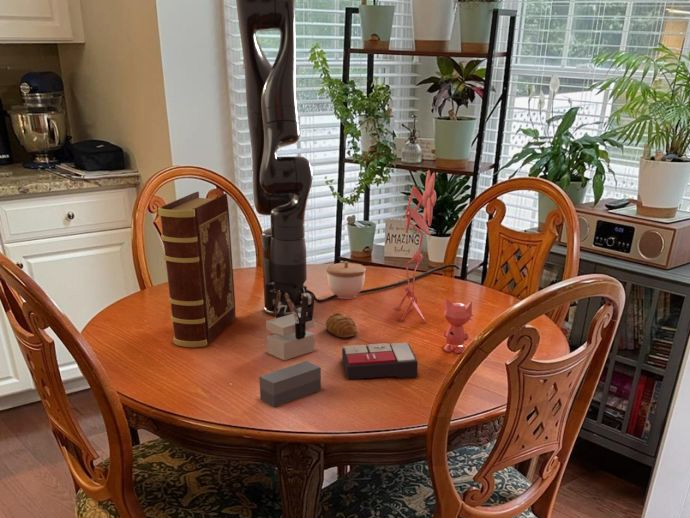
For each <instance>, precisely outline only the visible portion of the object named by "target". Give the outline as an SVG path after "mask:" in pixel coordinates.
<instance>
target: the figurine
mask: <svg viewBox="0 0 690 518" xmlns="http://www.w3.org/2000/svg"><path fill="white" fill-rule="evenodd" d="M435 182H436V173H435V172H432V174H431V170H430V169H427V172H426V175H425V183H424V184H425V185H424V191H423V192H422V193H421V191H420V190H419V189H418V188H417V187H416V186H415V185H413V186H412V187H411V192H410V196H409V200H408V203H407V206H406V210H405V213H404V220H405V223H406V224H405V225H406V226H405V233H406V234H409V228H410V226H412V227H413V228H414V229H415V230H416V231H417V232H418V233H420V240H419V245H418V251H416V252H414V253H413V254H412V255H411V259H410V260H409V261H407V262H405V268H406V276H407V277H406V279H408V282H407V286H406V287H405V288H404V289H405V294H404V296H403V297H402V299H401V301H400V303H399V305H398V306H397V308H396V309H397V310H398V311H400V309H401V307H402V306H403V304H404V302H405V300H406V298H408V299H409V301H410V302H409V304H408V306H407V307H406V309H405V311H404V312H403V314H402V316H401V318H400V322H403V321H404V319H405V317H406V315H407V314H408V312H409V310H410V308H411V306H412V307H413V308H414V310H415V312H416V313H417V315H418V317H419V318H420V319H421V320H422V321H423V322H424V323H425V322H426V320H425V317H424V315H423V313H422V311H421V310H420V307H419V306H418V300H417V297H416V295H415V282H416V281H415V280H416V279H415V276H416V272H417V269H418V267H419V264H420V263H421V262H422V260H423V255H422V253H421V249H422V243H423V237H424V233H425V234H426V235H428V236H431V232H430V229H429V227H431V225H432V222H433V213H434V212H433V208H434V207H435V205H436V201H437V192H436V190H435ZM413 196H414V197H415V199H416V200H417V201H418V203H417V204H416V205H417V206H416V207H415V208H413V207H410V206H411V204H412V201H413V200H412V199H413ZM420 206H422V207H423V214H420V213H419V212H418V211H417V210H418V209H419V208H420ZM422 215H423V216H422ZM411 219H412V220H413V221H414V223H415V224H416V225H417V226H416V225H415V224H414V223H412V222H411ZM423 232H424V233H423ZM412 262H413V263H415V264H416V266H415V268H414V271H413V273H412V277H413V280H412V289H411V286H410V281H409V278H410V276H409V267H408V264H409V263H412ZM431 304H432V305H437V306H439V307H442V308H444V305H441V304H438V303H434V302H431ZM402 328H404V329H407V326H401V329H402Z"/></svg>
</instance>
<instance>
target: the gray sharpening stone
mask: <svg viewBox="0 0 690 518" xmlns="http://www.w3.org/2000/svg"><path fill="white" fill-rule="evenodd" d="M258 379H259V397H260V399H259V400H260V401H262V402H264V403H266V404H268V405H269V406H272V407H273V408H277V407H278V406H282V405H284V404H286V403H290V402H291V401H292V402H293V401H295V400H298V399H300V398H304V397H306V396H308V395H311V394H314V393H317V392H320V391H321V390H322V366H320V365H317V364H314V363H312V362H310V361H307V360H305V361H301V362H299V363H296V364H295V363H294V364H293V365H289V366H285V367H282V368H280V369H277V370H274V371H271V372H268V373H265V374H262V375H259V376H258Z"/></svg>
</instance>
